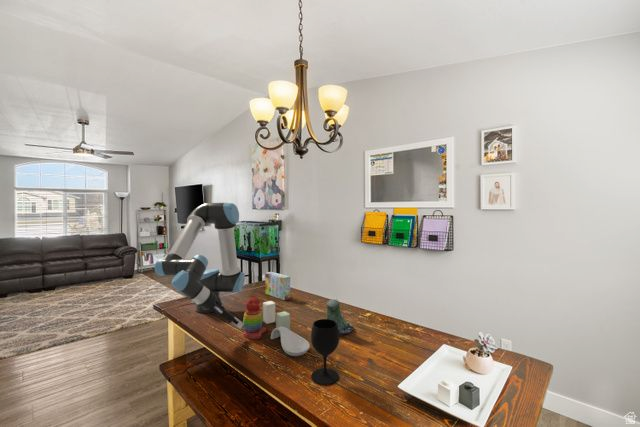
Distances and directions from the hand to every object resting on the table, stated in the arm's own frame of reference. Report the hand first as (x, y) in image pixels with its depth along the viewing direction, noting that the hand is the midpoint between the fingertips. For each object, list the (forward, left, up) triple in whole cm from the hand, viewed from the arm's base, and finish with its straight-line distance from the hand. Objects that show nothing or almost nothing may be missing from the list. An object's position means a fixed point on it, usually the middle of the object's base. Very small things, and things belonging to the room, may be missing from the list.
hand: (241, 326), depth 140 cm
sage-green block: (+8, +18, -6) cm, 20 cm away
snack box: (-45, +41, -6) cm, 61 cm away
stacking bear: (0, +6, -6) cm, 8 cm away
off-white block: (-10, +19, -6) cm, 22 cm away
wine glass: (+48, +15, -6) cm, 50 cm away
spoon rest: (+21, +14, -6) cm, 26 cm away
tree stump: (+18, +43, -6) cm, 47 cm away
